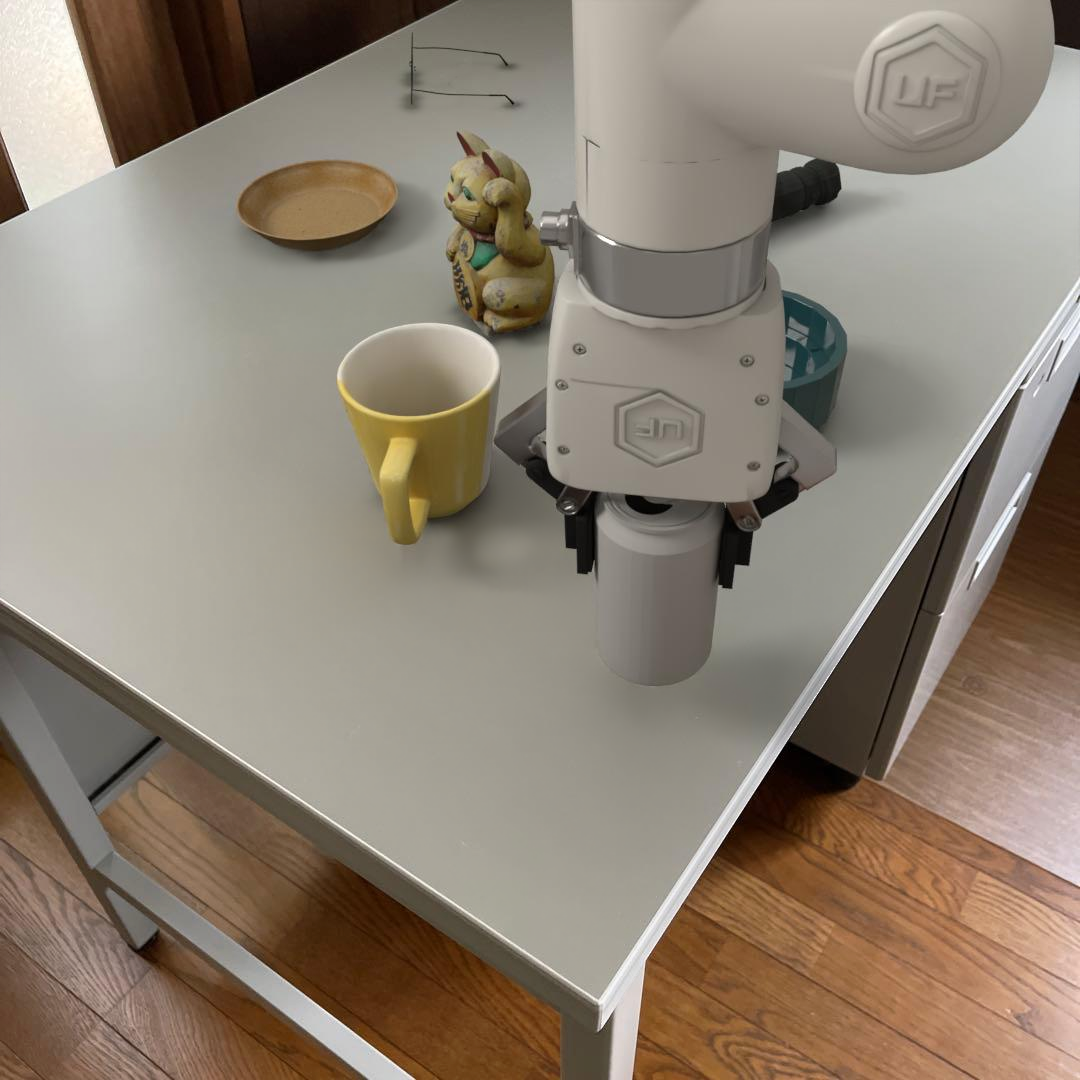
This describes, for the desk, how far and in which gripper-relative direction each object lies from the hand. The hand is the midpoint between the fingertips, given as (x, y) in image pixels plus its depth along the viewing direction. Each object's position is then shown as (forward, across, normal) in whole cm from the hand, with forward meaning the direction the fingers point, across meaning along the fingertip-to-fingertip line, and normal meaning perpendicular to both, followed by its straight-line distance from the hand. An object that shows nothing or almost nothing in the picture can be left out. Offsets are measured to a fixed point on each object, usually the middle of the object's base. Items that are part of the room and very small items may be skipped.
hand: (657, 559), depth 56 cm
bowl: (+11, +4, +28) cm, 30 cm away
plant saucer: (+10, -36, +49) cm, 62 cm away
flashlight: (+11, +2, +52) cm, 53 cm away
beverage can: (+7, 0, 0) cm, 7 cm away
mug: (+11, -17, +13) cm, 24 cm away
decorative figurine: (+11, -16, +37) cm, 42 cm away
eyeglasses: (+10, -30, +80) cm, 86 cm away
